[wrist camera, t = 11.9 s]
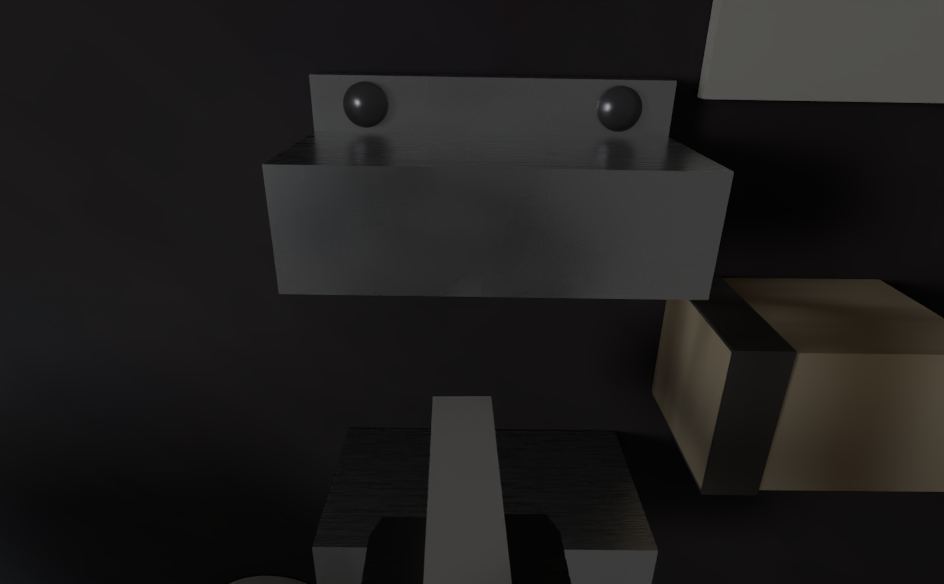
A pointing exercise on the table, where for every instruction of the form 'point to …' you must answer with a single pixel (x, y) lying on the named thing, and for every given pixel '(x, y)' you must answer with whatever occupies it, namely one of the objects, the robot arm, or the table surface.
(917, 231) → the table surface
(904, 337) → the tan piece
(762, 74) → the mat
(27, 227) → the table surface
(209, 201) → the table surface
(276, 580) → the coffee cup
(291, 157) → the dark grey boxy pieces
